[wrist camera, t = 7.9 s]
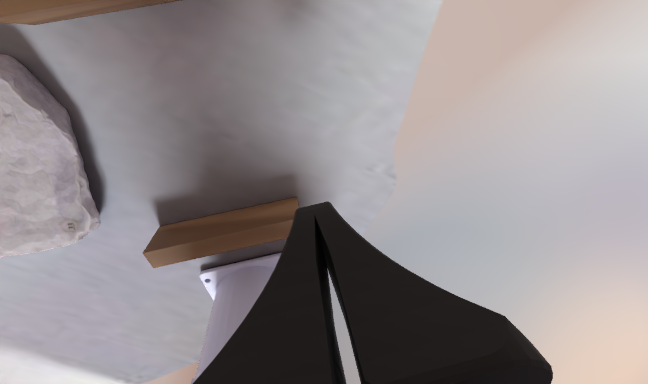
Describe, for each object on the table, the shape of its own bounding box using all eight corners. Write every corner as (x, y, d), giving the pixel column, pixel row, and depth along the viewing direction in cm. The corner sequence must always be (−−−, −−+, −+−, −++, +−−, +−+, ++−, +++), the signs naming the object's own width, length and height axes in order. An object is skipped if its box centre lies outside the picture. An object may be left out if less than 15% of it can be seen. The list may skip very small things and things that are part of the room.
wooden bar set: (300, 211, 22) (303, 234, 19) (-21, 282, 20) (-65, 317, 18) (183, -255, 10) (151, -358, 7) (-597, -168, 8) (-975, -260, 6)
